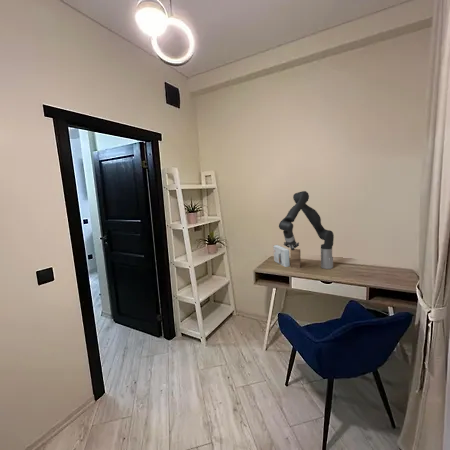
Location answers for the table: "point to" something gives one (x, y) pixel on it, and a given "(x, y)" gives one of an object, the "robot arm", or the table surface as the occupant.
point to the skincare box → (281, 255)
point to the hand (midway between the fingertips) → (292, 249)
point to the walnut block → (295, 258)
